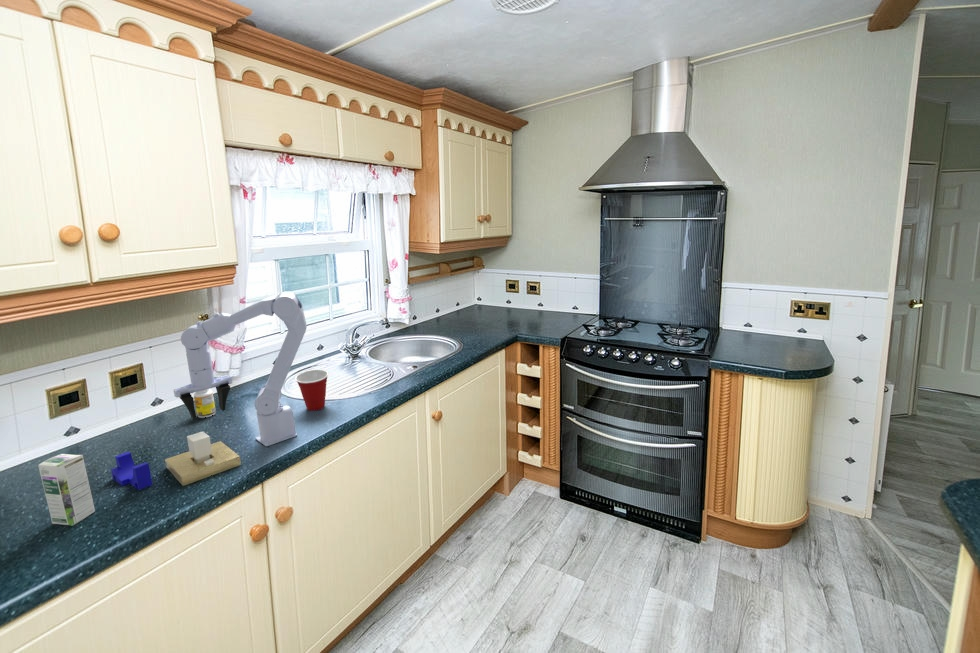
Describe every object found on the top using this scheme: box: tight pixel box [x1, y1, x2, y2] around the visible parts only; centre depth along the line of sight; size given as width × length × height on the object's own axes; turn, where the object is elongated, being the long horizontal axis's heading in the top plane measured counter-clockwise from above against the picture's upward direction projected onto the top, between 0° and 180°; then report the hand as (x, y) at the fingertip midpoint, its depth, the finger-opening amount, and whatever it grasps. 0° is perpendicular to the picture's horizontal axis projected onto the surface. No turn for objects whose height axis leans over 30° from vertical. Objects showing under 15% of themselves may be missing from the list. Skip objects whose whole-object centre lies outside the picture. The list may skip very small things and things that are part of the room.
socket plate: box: [164, 441, 242, 487], centre depth 137 cm, size 14×14×3 cm
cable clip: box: [110, 451, 153, 491], centre depth 130 cm, size 12×4×6 cm, turn 55°
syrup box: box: [37, 453, 96, 527], centre depth 114 cm, size 6×6×14 cm
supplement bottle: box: [193, 389, 217, 419], centre depth 171 cm, size 6×6×10 cm
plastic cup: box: [294, 369, 329, 412], centre depth 174 cm, size 11×11×12 cm
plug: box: [186, 430, 212, 463], centre depth 137 cm, size 4×5×8 cm
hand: (208, 413), depth 146 cm, fingers open, 7 cm apart
